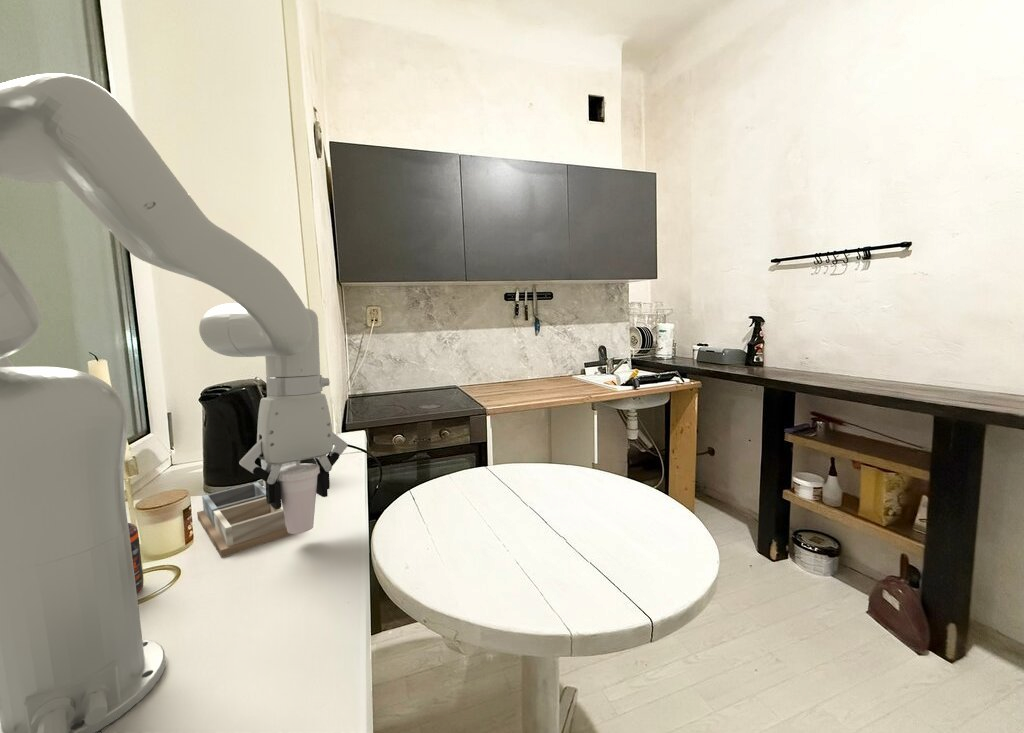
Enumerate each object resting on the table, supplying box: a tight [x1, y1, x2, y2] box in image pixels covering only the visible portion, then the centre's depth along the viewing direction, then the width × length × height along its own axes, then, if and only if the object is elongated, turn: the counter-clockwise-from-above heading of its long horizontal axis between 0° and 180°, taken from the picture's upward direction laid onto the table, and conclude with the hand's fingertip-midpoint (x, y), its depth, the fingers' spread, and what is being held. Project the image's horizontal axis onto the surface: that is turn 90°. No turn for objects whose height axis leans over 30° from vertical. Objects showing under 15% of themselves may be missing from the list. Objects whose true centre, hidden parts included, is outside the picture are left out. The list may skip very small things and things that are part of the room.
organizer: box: [196, 481, 291, 559], centre depth 76 cm, size 20×11×4 cm, turn 45°
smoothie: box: [277, 461, 320, 535], centre depth 67 cm, size 6×6×14 cm
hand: (299, 499), depth 67 cm, fingers closed on smoothie, 6 cm apart
